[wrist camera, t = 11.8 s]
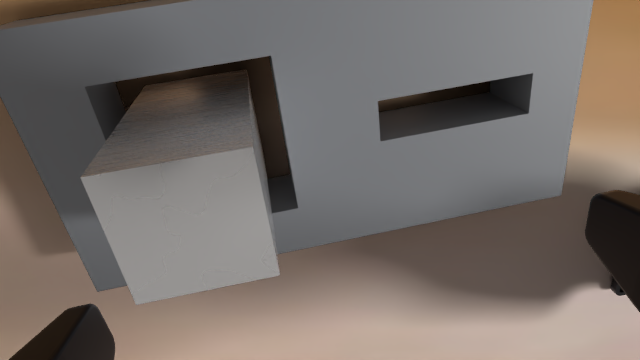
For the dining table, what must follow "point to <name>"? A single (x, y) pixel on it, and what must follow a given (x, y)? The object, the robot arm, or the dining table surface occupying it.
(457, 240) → the dining table surface
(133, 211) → the steel peg
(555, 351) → the dining table surface
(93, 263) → the socket plate
